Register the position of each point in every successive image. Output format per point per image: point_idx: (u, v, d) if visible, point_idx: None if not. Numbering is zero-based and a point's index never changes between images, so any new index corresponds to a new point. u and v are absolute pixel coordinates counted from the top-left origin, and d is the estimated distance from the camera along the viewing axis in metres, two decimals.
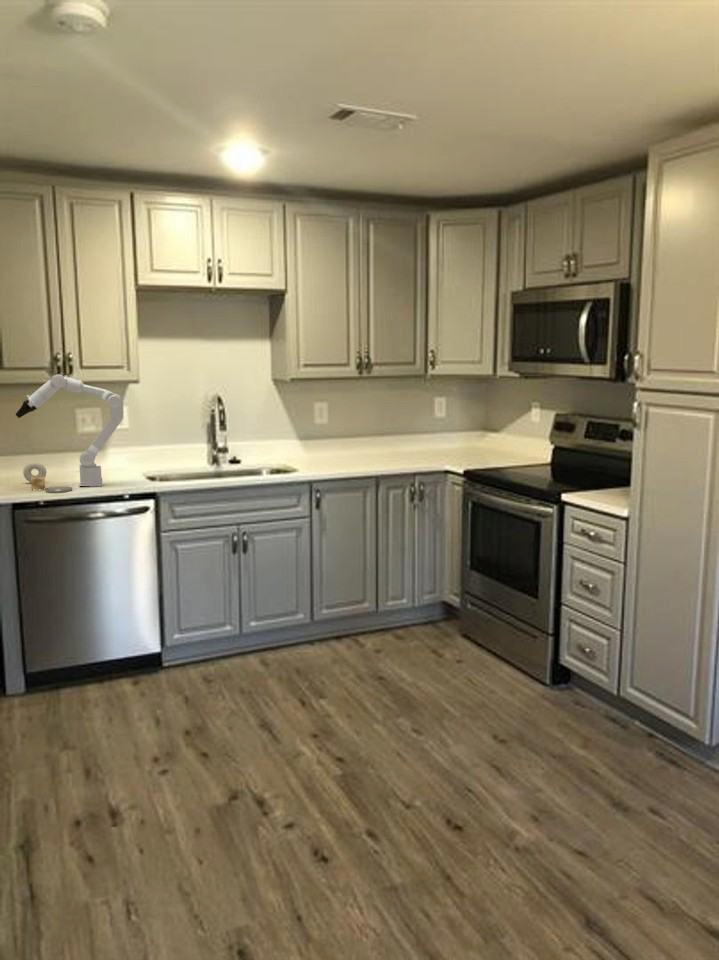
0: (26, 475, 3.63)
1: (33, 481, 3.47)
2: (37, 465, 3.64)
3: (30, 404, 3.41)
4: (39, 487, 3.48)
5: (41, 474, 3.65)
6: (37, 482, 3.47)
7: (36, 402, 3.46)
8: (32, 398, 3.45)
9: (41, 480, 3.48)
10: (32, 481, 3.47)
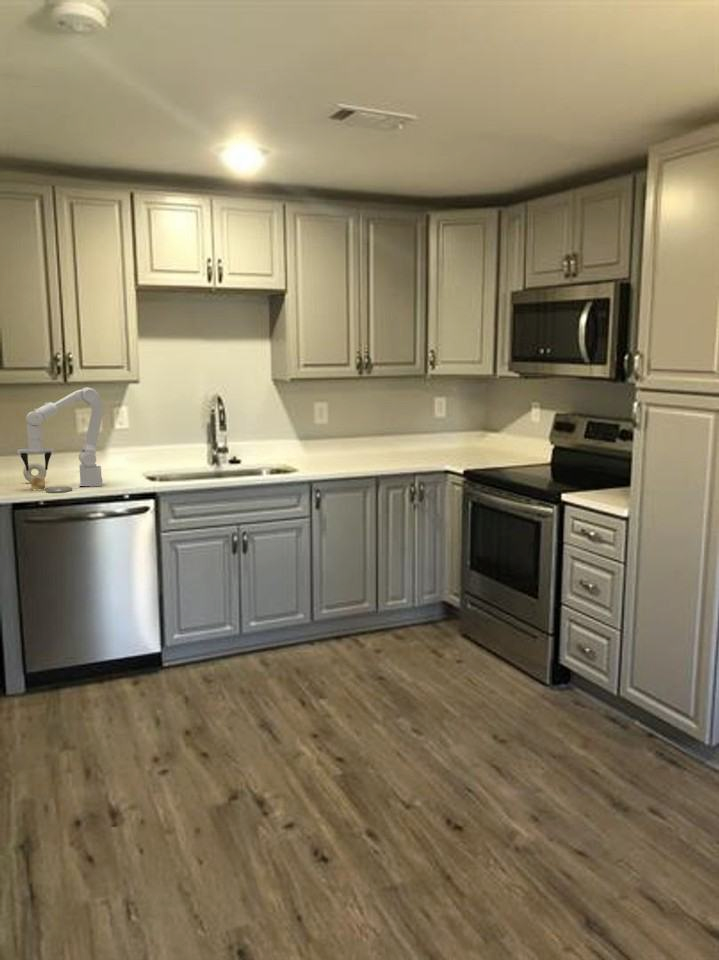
0: (26, 475, 3.63)
1: (33, 481, 3.47)
2: (37, 465, 3.64)
3: (53, 451, 3.49)
4: (39, 487, 3.48)
5: (41, 474, 3.65)
6: (37, 482, 3.47)
7: None
8: (41, 448, 3.46)
9: (41, 480, 3.48)
10: (32, 481, 3.47)
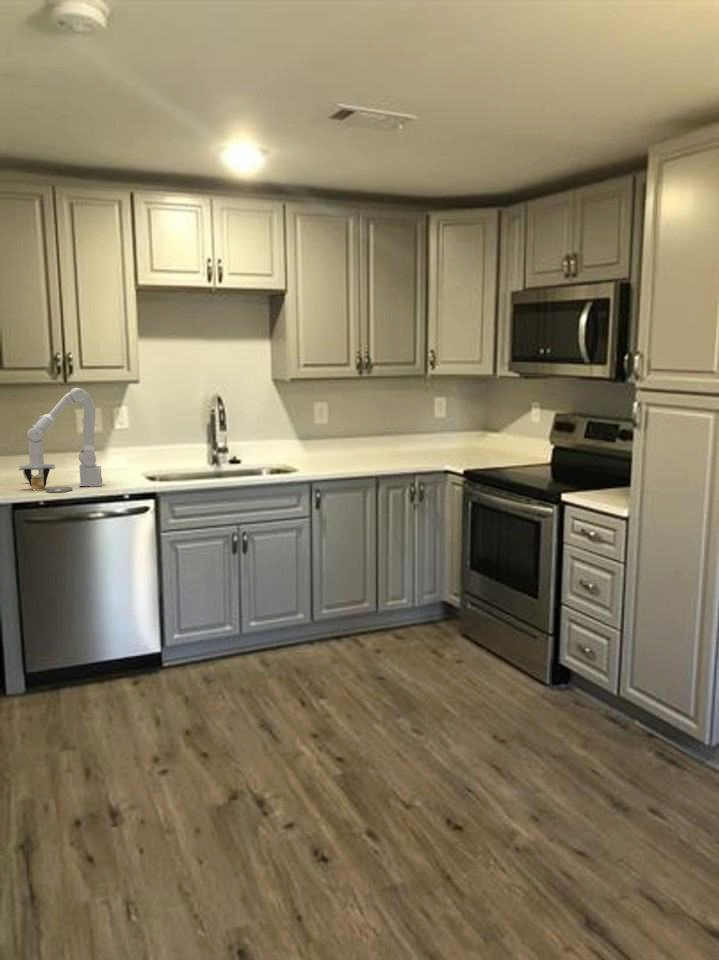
0: None
1: (33, 480, 3.47)
2: None
3: (54, 467, 3.51)
4: (39, 487, 3.48)
5: (41, 474, 3.65)
6: (37, 482, 3.47)
7: None
8: (42, 464, 3.48)
9: (41, 480, 3.48)
10: (32, 481, 3.47)
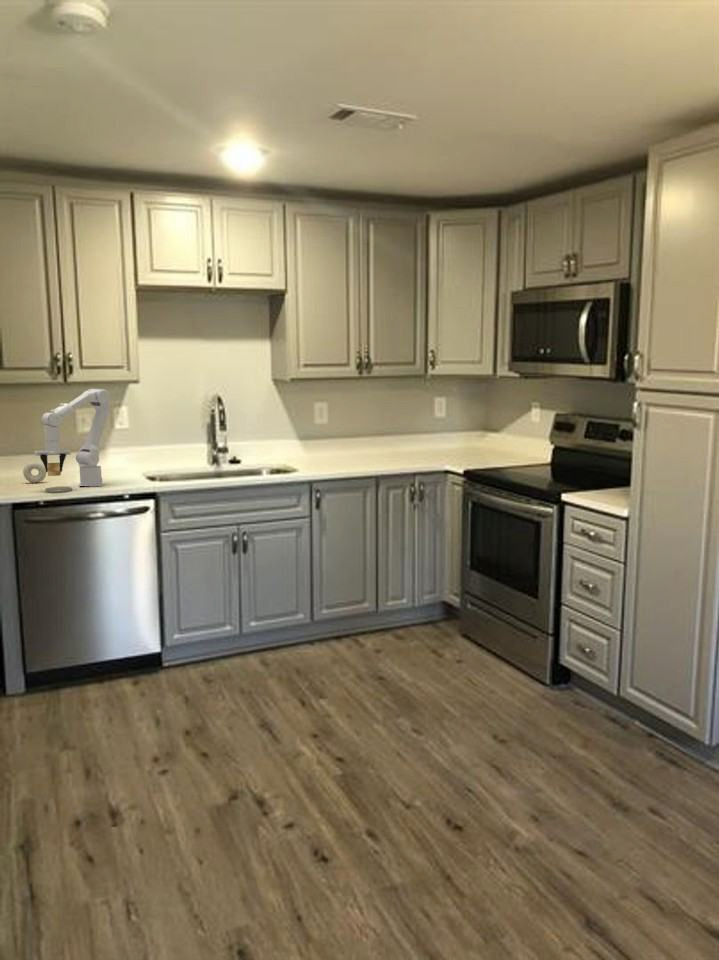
0: (26, 475, 3.63)
1: (49, 466, 3.42)
2: (37, 465, 3.64)
3: (70, 452, 3.46)
4: (55, 472, 3.43)
5: (41, 474, 3.65)
6: (53, 467, 3.43)
7: None
8: (58, 449, 3.43)
9: (57, 465, 3.43)
10: (48, 466, 3.42)
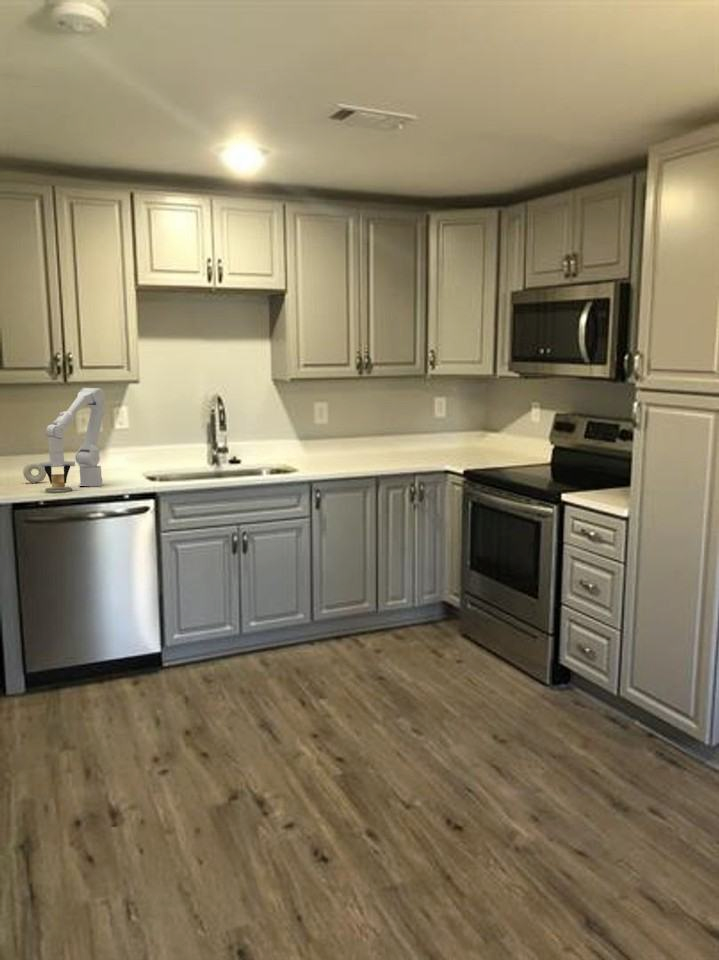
0: (26, 475, 3.63)
1: (54, 478, 3.42)
2: (37, 465, 3.64)
3: None
4: (59, 484, 3.43)
5: (41, 474, 3.65)
6: (57, 479, 3.43)
7: None
8: (62, 461, 3.43)
9: (61, 477, 3.43)
10: (52, 478, 3.42)
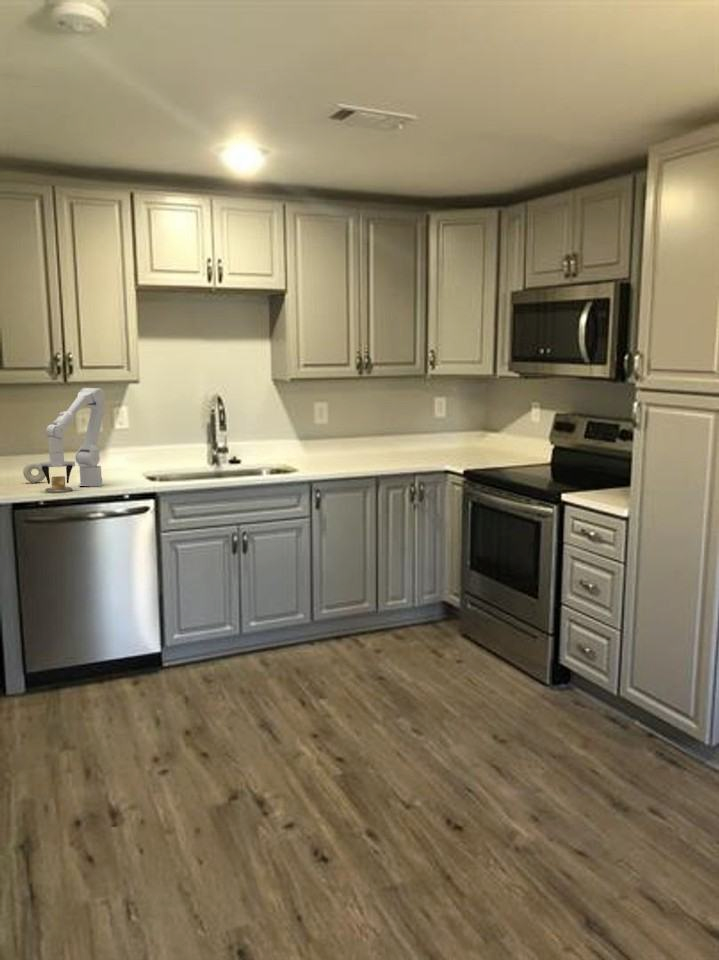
0: (26, 475, 3.63)
1: (54, 480, 3.42)
2: (37, 465, 3.64)
3: (74, 464, 3.46)
4: (59, 486, 3.43)
5: (41, 474, 3.65)
6: (57, 481, 3.43)
7: None
8: (62, 461, 3.43)
9: (61, 479, 3.43)
10: (52, 480, 3.42)
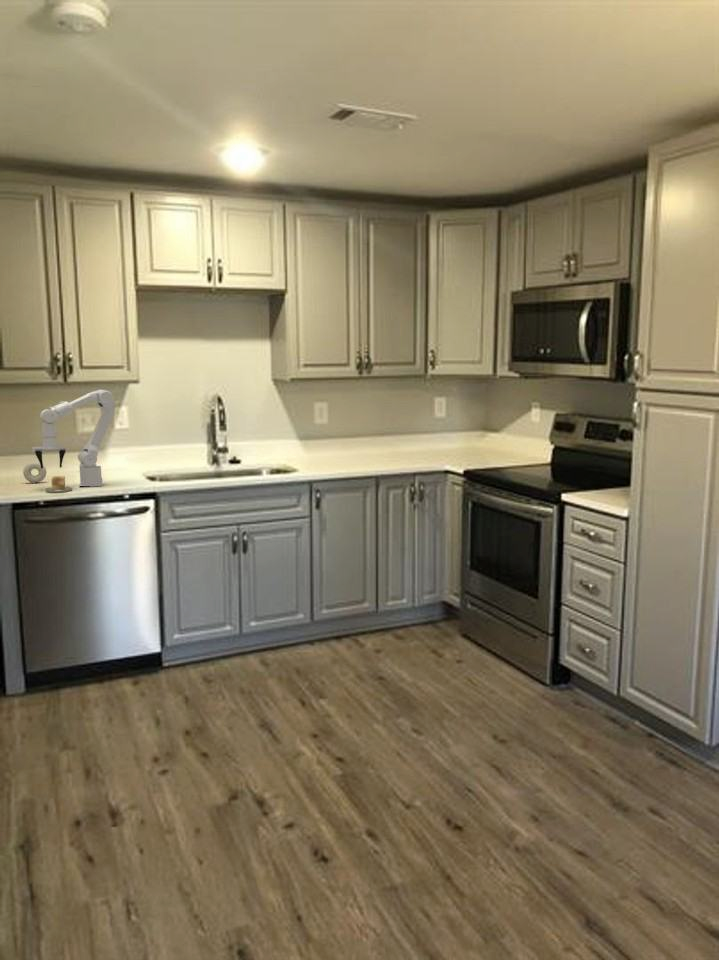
0: (26, 475, 3.63)
1: (54, 480, 3.42)
2: (37, 465, 3.64)
3: (67, 449, 3.51)
4: (59, 486, 3.43)
5: (41, 474, 3.65)
6: (57, 481, 3.43)
7: None
8: (55, 445, 3.48)
9: (61, 479, 3.43)
10: (52, 480, 3.42)
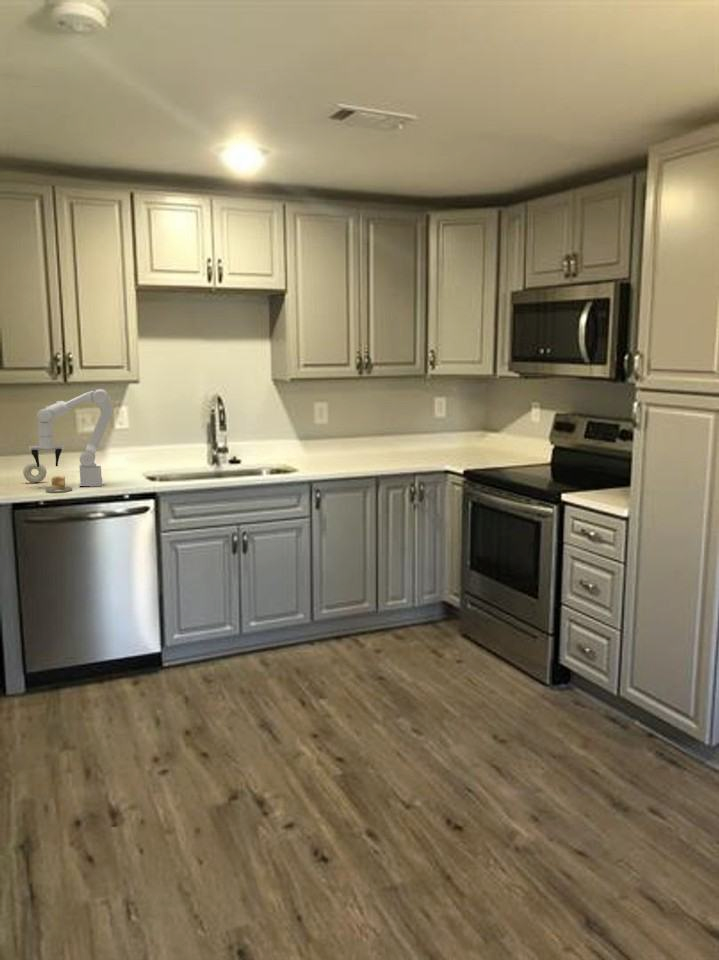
0: (26, 475, 3.63)
1: (54, 480, 3.42)
2: None
3: (63, 448, 3.54)
4: (59, 486, 3.43)
5: (41, 474, 3.65)
6: (57, 481, 3.43)
7: None
8: (51, 444, 3.51)
9: (61, 479, 3.43)
10: (52, 480, 3.42)
